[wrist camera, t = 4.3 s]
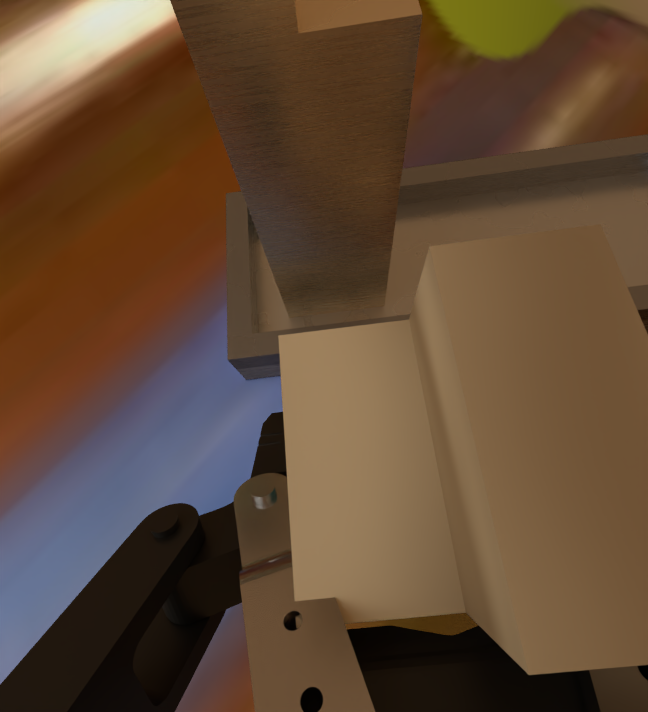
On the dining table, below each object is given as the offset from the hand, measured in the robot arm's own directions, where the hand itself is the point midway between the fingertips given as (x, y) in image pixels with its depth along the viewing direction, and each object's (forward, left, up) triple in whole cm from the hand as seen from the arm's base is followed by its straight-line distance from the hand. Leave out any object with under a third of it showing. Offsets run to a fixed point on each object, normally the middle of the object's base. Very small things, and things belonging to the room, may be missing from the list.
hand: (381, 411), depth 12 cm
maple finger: (+2, -1, -5) cm, 5 cm away
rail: (-4, +8, -5) cm, 10 cm away
